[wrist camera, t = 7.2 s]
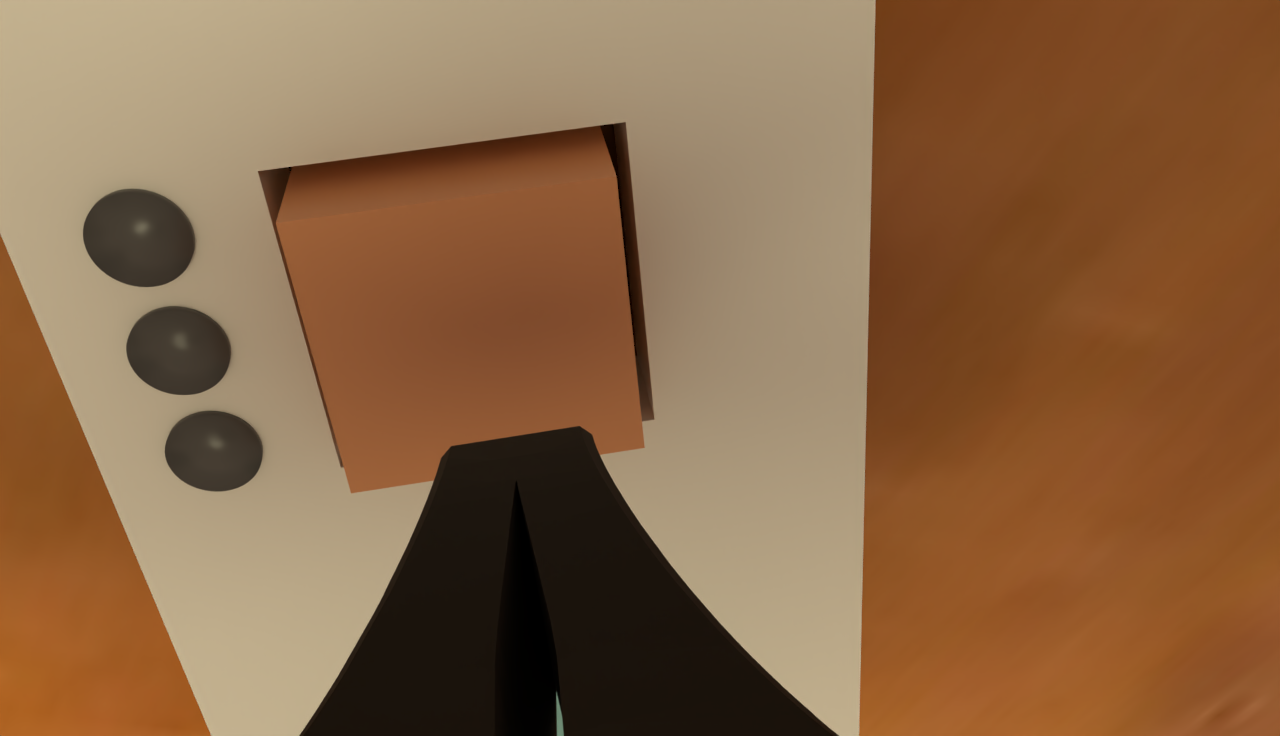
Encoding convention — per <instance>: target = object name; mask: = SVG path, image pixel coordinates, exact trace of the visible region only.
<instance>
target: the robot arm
mask: <svg viewBox="0 0 1280 736" xmlns="http://www.w3.org/2000/svg"><path fill="white" fill-rule="evenodd" d="M556 691H557V696H558V700H559V705H560V710H561V714H562V720H563V732H564V736H839V735H838V734H836V733H835V732H834V731H833V730H831V729H830V728H829V727H828V726H827V725H825V724H824V723H823V722H822V721H821V720H820V719H818V718H817V717H816V716H815V715H814V714H813V713H812V712H811V711H810V710H808V709H807V708H806V707H805V706H804V705H803V704H802V703H801V702H799V701H798V700H797V699H796V698H795V697H794V696H793V695H792V694H790V693H789V692H788V691H787V690H786V689H785V688H784V687H783V686H782V685H781V684H780V683H779V682H778V681H777V680H775V679H774V678H773V677H772V676H771V675H770V674H769V673H768V672H767V671H766V670H765V669H764V668H763V667H762V666H761V665H760V664H759V663H758V662H757V661H756V660H755V659H754V658H753V657H752V656H751V655H750V654H749V653H748V652H747V651H746V650H745V649H744V648H743V647H742V646H741V645H740V644H739V643H738V642H737V641H736V640H735V639H734V638H733V637H732V635H731V634H730V633H729V632H728V631H727V630H726V629H725V628H724V627H723V626H722V625H721V624H720V623H719V621H718V620H717V619H716V618H715V617H714V616H713V615H712V613H711V612H710V611H709V610H708V609H707V608H706V607H705V605H704V604H703V603H702V602H701V601H700V600H699V598H698V597H697V596H696V595H695V594H694V593H693V592H692V590H691V589H690V588H689V587H688V586H687V584H686V583H685V582H684V581H683V579H682V578H681V577H680V576H679V574H678V573H677V572H676V571H675V569H674V568H673V567H672V566H671V564H670V563H669V562H668V560H667V559H666V558H665V556H664V555H663V554H662V552H661V551H660V550H659V548H658V547H657V545H656V544H655V543H654V541H653V540H652V539H651V537H650V536H649V535H648V533H647V532H646V531H645V529H644V528H643V527H642V525H641V524H640V522H639V521H638V519H637V518H636V516H635V515H634V513H633V512H632V510H631V509H630V507H629V506H628V504H627V503H626V501H625V499H624V498H623V496H622V494H621V493H620V491H619V490H618V488H617V486H616V485H615V483H614V481H613V479H612V478H611V476H610V474H609V472H608V470H607V469H606V467H605V465H604V463H603V461H602V459H601V456H600V454H599V452H598V450H597V447H596V445H595V442H594V439H593V435H592V434H591V433H589V432H588V431H586V430H585V429H583V428H582V427H580V426H576V427H569V428H563V429H556V430H550V431H544V432H537V433H531V434H525V435H518V436H512V437H506V438H499V439H493V440H487V441H480V442H474V443H467V444H461V445H455V446H451V447H450V448H449V449H448V450H447V451H446V453H445V454H444V455H443V456H442V457H441V460H440V463H439V467H438V470H437V473H436V476H435V479H434V482H433V484H432V487H431V490H430V493H429V495H428V498H427V500H426V503H425V505H424V508H423V510H422V513H421V515H420V518H419V520H418V522H417V525H416V527H415V529H414V531H413V534H412V536H411V538H410V541H409V543H408V545H407V547H406V549H405V551H404V553H403V555H402V558H401V560H400V562H399V564H398V566H397V568H396V570H395V572H394V574H393V576H392V578H391V580H390V582H389V584H388V586H387V588H386V590H385V592H384V595H383V597H382V599H381V600H380V602H379V604H378V606H377V608H376V610H375V612H374V614H373V616H372V617H371V619H370V621H369V623H368V624H367V626H366V628H365V630H364V631H363V633H362V635H361V637H360V638H359V640H358V642H357V644H356V645H355V647H354V649H353V651H352V652H351V654H350V656H349V658H348V659H347V661H346V663H345V664H344V666H343V668H342V670H341V671H340V673H339V675H338V677H337V678H336V680H335V682H334V683H333V685H332V686H331V688H330V690H329V691H328V693H327V694H326V696H325V697H324V699H323V701H322V702H321V704H320V705H319V707H318V708H317V710H316V711H315V713H314V714H313V716H312V717H311V719H310V720H309V722H308V723H307V725H306V726H305V728H304V729H303V731H302V732H301V734H300V735H299V736H557V702H556Z"/></svg>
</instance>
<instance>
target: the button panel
mask: <svg viewBox="0 0 1280 736" xmlns="http://www.w3.org/2000/svg"><path fill="white" fill-rule="evenodd" d="M875 2H876V0H0V234H1V236H2V239H3V241H4V244H5V246H6V248H7V251H8V253H9V256H10V258H11V260H12V263H13V265H14V267H15V270H16V272H17V275H18V277H19V279H20V282H21V284H22V286H23V289H24V291H25V294H26V296H27V298H28V301H29V303H30V305H31V308H32V310H33V313H34V315H35V317H36V320H37V322H38V324H39V327H40V329H41V332H42V334H43V336H44V339H45V341H46V344H47V346H48V348H49V351H50V353H51V355H52V358H53V360H54V363H55V365H56V367H57V370H58V372H59V374H60V377H61V379H62V382H63V384H64V386H65V389H66V391H67V393H68V396H69V398H70V401H71V403H72V405H73V408H74V410H75V412H76V415H77V417H78V420H79V422H80V424H81V427H82V429H83V432H84V434H85V436H86V439H87V441H88V443H89V446H90V448H91V451H92V453H93V455H94V458H95V460H96V462H97V465H98V467H99V470H100V472H101V474H102V477H103V479H104V481H105V484H106V486H107V489H108V491H109V493H110V496H111V498H112V501H113V503H114V505H115V508H116V510H117V512H118V515H119V517H120V520H121V522H122V524H123V527H124V529H125V531H126V534H127V536H128V539H129V541H130V543H131V546H132V548H133V550H134V553H135V555H136V558H137V560H138V562H139V565H140V567H141V569H142V572H143V574H144V577H145V579H146V581H147V584H148V586H149V589H150V591H151V593H152V596H153V598H154V600H155V603H156V605H157V608H158V610H159V612H160V615H161V617H162V619H163V622H164V624H165V627H166V629H167V631H168V634H169V636H170V638H171V641H172V643H173V646H174V648H175V650H176V653H177V655H178V657H179V660H180V662H181V665H182V667H183V669H184V672H185V674H186V677H187V679H188V681H189V684H190V686H191V688H192V691H193V693H194V696H195V698H196V700H197V703H198V705H199V707H200V710H201V712H202V715H203V717H204V719H205V722H206V724H207V726H208V729H209V731H210V734H211V736H299V735H300V734H301V732H302V731H303V729H304V728H305V726H306V725H307V723H308V722H309V720H310V719H311V717H312V716H313V714H314V713H315V711H316V710H317V708H318V707H319V705H320V704H321V702H322V701H323V699H324V697H325V696H326V694H327V693H328V691H329V690H330V688H331V686H332V685H333V683H334V682H335V680H336V678H337V677H338V675H339V673H340V671H341V670H342V668H343V666H344V664H345V663H346V661H347V659H348V658H349V656H350V654H351V652H352V651H353V649H354V647H355V645H356V644H357V642H358V640H359V638H360V637H361V635H362V633H363V631H364V630H365V628H366V626H367V624H368V623H369V621H370V619H371V617H372V616H373V614H374V612H375V610H376V608H377V606H378V604H379V602H380V600H381V599H382V597H383V595H384V592H385V590H386V588H387V586H388V584H389V582H390V580H391V578H392V576H393V574H394V572H395V570H396V568H397V566H398V564H399V562H400V560H401V558H402V555H403V553H404V551H405V549H406V547H407V545H408V543H409V541H410V538H411V536H412V534H413V531H414V529H415V527H416V525H417V522H418V520H419V518H420V515H421V513H422V510H423V508H424V505H425V503H426V500H427V498H428V495H429V493H430V490H431V487H432V484H433V482H434V481H428V482H421V483H415V484H409V485H402V486H396V487H389V488H383V489H376V490H370V491H363V492H357V493H351V492H350V488H349V484H348V481H347V477H346V474H345V470H344V466H343V463H342V459H341V456H340V452H339V449H338V445H337V441H336V438H335V434H334V431H333V427H332V423H331V420H330V416H329V413H328V409H327V405H326V402H325V398H324V395H323V391H322V388H321V384H320V380H319V377H318V373H317V370H316V366H315V362H314V359H313V355H312V352H311V348H310V344H309V341H308V337H307V334H306V330H305V327H304V323H303V319H302V316H301V312H300V309H299V305H298V301H297V298H296V294H295V291H294V287H293V283H292V280H291V276H290V273H289V269H288V266H287V262H286V258H285V255H284V251H283V248H282V244H281V240H280V237H279V233H278V230H277V226H276V220H277V217H278V214H279V210H280V207H281V203H282V200H283V196H284V193H285V190H286V186H287V183H288V179H289V176H290V172H289V168H288V167H293V166H300V165H308V164H315V163H323V162H330V161H338V160H345V159H353V158H360V157H368V156H375V155H382V154H390V153H397V152H405V151H412V150H420V149H427V148H435V147H442V146H450V145H457V144H465V143H472V142H480V141H487V140H495V139H502V138H510V137H517V136H525V135H532V134H540V133H547V132H554V131H562V130H569V129H577V128H584V127H592V126H599V125H607V124H613V126H614V135H615V145H616V155H617V165H618V174H619V184H620V194H621V204H622V213H623V223H624V233H625V243H626V252H627V262H628V272H629V282H630V291H631V301H632V311H633V321H634V330H635V340H636V350H637V356H635V359H636V369H637V379H638V388H639V398H640V407H641V417H642V427H643V436H644V446H645V448H641V449H634V450H628V451H621V452H615V453H608V454H602V455H600V456H601V459H602V461H603V463H604V465H605V467H606V469H607V470H608V472H609V474H610V476H611V478H612V479H613V481H614V483H615V485H616V486H617V488H618V490H619V491H620V493H621V494H622V496H623V498H624V499H625V501H626V503H627V504H628V506H629V507H630V509H631V510H632V512H633V513H634V515H635V516H636V518H637V519H638V521H639V522H640V524H641V525H642V527H643V528H644V529H645V531H646V532H647V533H648V535H649V536H650V537H651V539H652V540H653V541H654V543H655V544H656V545H657V547H658V548H659V550H660V551H661V552H662V554H663V555H664V556H665V558H666V559H667V560H668V562H669V563H670V564H671V566H672V567H673V568H674V569H675V571H676V572H677V573H678V574H679V576H680V577H681V578H682V579H683V581H684V582H685V583H686V584H687V586H688V587H689V588H690V589H691V590H692V592H693V593H694V594H695V595H696V596H697V597H698V598H699V600H700V601H701V602H702V603H703V604H704V605H705V607H706V608H707V609H708V610H709V611H710V612H711V613H712V615H713V616H714V617H715V618H716V619H717V620H718V621H719V623H720V624H721V625H722V626H723V627H724V628H725V629H726V630H727V631H728V632H729V633H730V634H731V635H732V637H733V638H734V639H735V640H736V641H737V642H738V643H739V644H740V645H741V646H742V647H743V648H744V649H745V650H746V651H747V652H748V653H749V654H750V655H751V656H752V657H753V658H754V659H755V660H756V661H757V662H758V663H759V664H760V665H761V666H762V667H763V668H764V669H765V670H766V671H767V672H768V673H769V674H770V675H771V676H772V677H773V678H774V679H775V680H777V681H778V682H779V683H780V684H781V685H782V686H783V687H784V688H785V689H786V690H787V691H788V692H789V693H790V694H792V695H793V696H794V697H795V698H796V699H797V700H798V701H799V702H801V703H802V704H803V705H804V706H805V707H806V708H807V709H808V710H810V711H811V712H812V713H813V714H814V715H815V716H816V717H817V718H818V719H820V720H821V721H822V722H823V723H824V724H825V725H827V726H828V727H829V728H830V729H831V730H833V731H834V732H835V733H836V734H838V735H839V736H859V712H860V667H861V623H862V579H863V534H864V490H865V445H866V401H867V357H868V312H869V268H870V224H871V179H872V135H873V91H874V46H875Z"/></svg>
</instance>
